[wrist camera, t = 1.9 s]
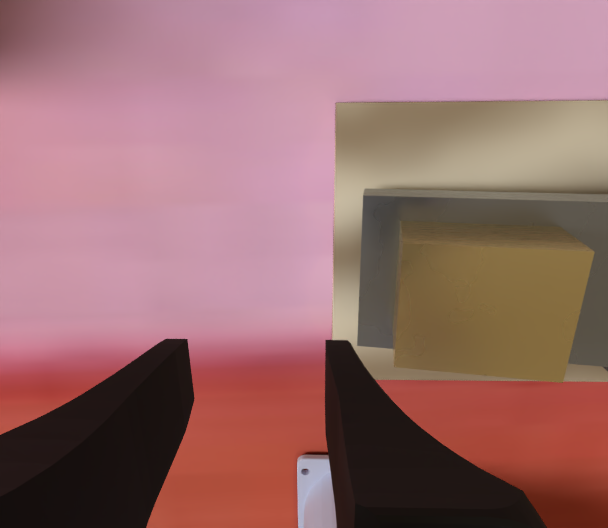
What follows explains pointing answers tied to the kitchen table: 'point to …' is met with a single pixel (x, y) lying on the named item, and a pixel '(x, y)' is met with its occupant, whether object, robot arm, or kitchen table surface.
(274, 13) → the kitchen table surface
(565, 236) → the tan block
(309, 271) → the kitchen table surface
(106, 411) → the robot arm
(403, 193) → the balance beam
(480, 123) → the beam stand
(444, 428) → the kitchen table surface
